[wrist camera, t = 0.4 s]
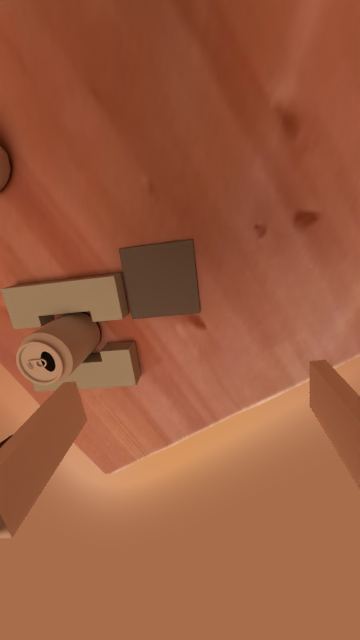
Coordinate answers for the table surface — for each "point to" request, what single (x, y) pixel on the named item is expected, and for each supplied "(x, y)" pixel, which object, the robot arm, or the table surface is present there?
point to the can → (57, 348)
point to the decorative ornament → (4, 168)
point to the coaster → (161, 279)
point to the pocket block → (79, 296)
